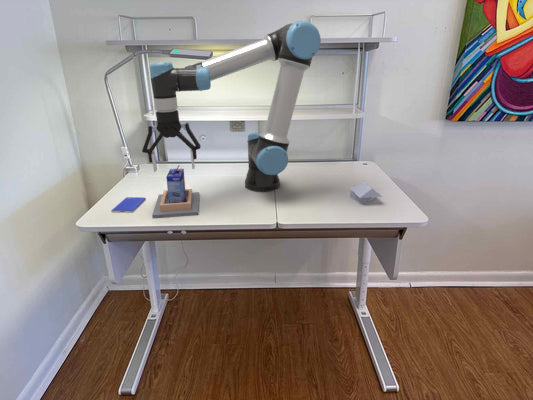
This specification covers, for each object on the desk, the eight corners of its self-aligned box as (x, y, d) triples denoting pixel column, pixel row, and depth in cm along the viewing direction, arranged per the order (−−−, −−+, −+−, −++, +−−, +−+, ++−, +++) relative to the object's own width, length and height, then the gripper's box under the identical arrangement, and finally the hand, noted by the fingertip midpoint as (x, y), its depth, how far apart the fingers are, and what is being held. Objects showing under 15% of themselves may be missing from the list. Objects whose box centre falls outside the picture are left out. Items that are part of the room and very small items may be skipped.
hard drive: (125, 197, 144) (111, 209, 133) (145, 197, 144) (132, 210, 132) (126, 200, 145) (111, 213, 133) (146, 201, 144) (133, 214, 133)
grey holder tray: (199, 194, 148) (198, 186, 147) (198, 214, 130) (197, 205, 129) (159, 197, 146) (158, 188, 145) (152, 218, 128) (151, 208, 127)
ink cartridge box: (184, 207, 134) (180, 169, 128) (169, 208, 133) (164, 170, 128) (186, 197, 143) (183, 161, 137) (172, 198, 142) (168, 162, 137)
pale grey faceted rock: (381, 204, 137) (367, 192, 149) (383, 187, 135) (369, 176, 147) (358, 206, 136) (346, 193, 148) (360, 189, 134) (347, 178, 146)
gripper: (203, 106, 130) (208, 163, 138) (131, 110, 126) (141, 168, 135) (203, 110, 123) (209, 169, 131) (127, 114, 120) (137, 175, 128)
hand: (174, 169), depth 133 cm, fingers open, 13 cm apart
